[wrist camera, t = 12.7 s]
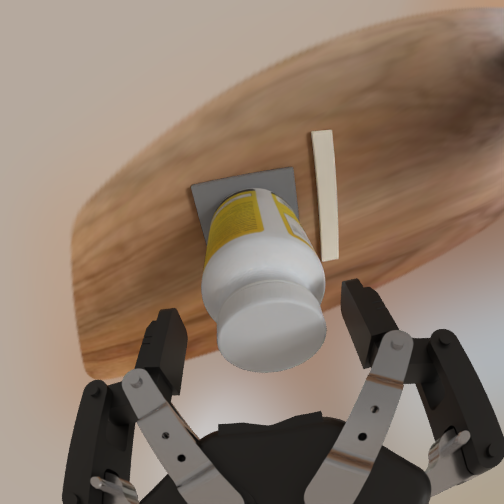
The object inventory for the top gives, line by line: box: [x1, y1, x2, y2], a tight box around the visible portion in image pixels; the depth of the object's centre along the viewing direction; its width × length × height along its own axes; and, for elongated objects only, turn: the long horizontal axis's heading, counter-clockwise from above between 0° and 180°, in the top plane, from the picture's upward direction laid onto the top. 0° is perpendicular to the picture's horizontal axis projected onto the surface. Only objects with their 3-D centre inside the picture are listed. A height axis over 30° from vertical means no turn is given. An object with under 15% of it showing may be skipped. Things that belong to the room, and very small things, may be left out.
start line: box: [311, 130, 339, 262], centre depth 21 cm, size 2×11×1 cm, turn 10°
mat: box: [191, 167, 299, 245], centre depth 21 cm, size 8×8×1 cm
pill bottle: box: [201, 188, 326, 373], centre depth 16 cm, size 6×6×12 cm
